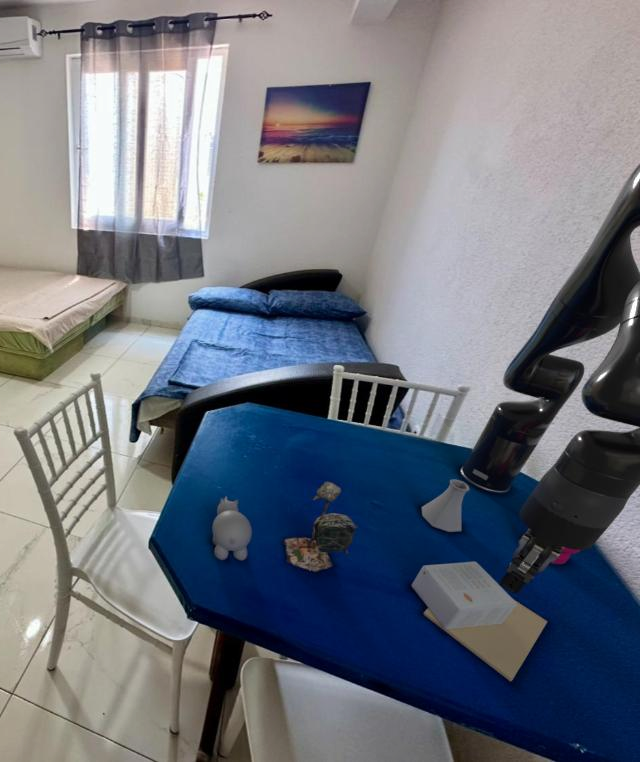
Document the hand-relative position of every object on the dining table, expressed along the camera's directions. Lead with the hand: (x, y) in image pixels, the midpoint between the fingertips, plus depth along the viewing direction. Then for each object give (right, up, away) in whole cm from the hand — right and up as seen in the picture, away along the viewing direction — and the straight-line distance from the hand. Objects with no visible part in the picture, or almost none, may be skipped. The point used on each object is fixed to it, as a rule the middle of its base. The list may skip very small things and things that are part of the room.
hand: (509, 586), depth 62 cm
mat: (+1, -8, +6) cm, 10 cm away
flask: (+9, +2, +25) cm, 27 cm away
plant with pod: (-23, -2, +16) cm, 28 cm away
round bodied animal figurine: (-39, 0, +19) cm, 43 cm away
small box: (+3, -4, +7) cm, 8 cm away
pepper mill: (+24, -2, +19) cm, 31 cm away
